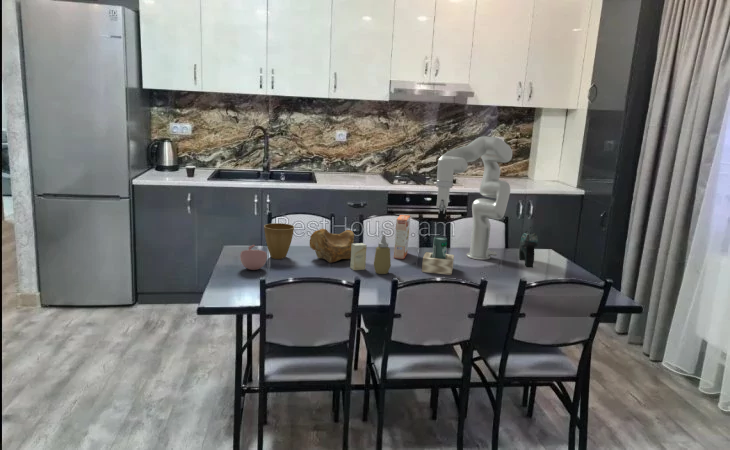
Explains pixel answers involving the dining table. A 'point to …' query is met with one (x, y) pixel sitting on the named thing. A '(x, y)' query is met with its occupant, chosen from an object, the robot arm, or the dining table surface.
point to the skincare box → (358, 256)
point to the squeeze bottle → (382, 257)
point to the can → (439, 247)
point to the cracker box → (401, 236)
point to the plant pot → (278, 239)
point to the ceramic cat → (528, 248)
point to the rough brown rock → (332, 245)
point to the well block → (437, 264)
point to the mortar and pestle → (253, 258)
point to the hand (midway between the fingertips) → (441, 219)
